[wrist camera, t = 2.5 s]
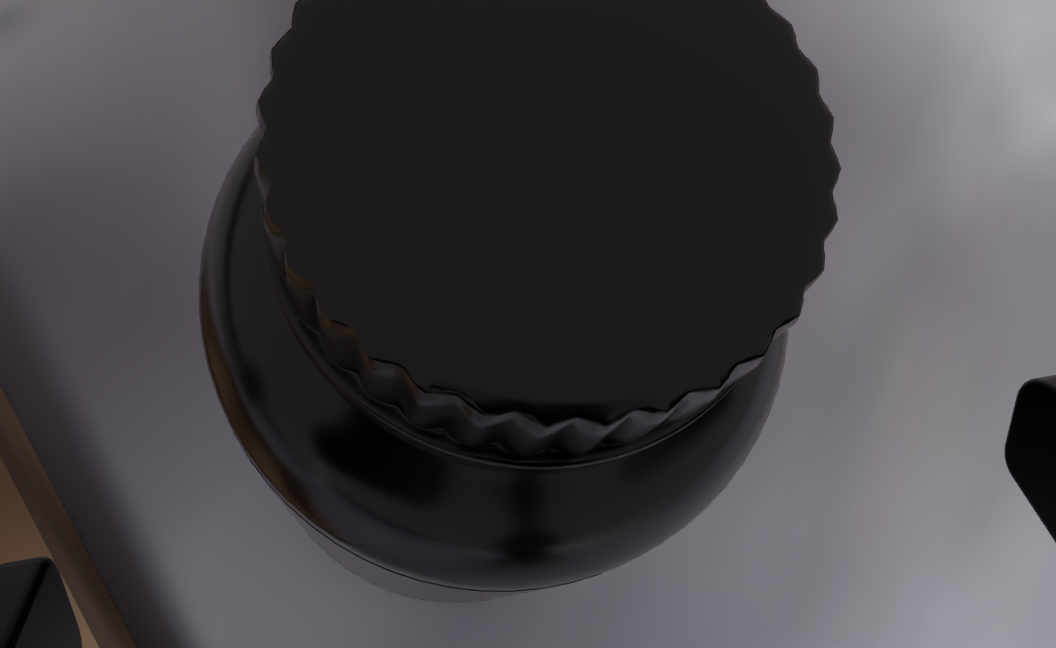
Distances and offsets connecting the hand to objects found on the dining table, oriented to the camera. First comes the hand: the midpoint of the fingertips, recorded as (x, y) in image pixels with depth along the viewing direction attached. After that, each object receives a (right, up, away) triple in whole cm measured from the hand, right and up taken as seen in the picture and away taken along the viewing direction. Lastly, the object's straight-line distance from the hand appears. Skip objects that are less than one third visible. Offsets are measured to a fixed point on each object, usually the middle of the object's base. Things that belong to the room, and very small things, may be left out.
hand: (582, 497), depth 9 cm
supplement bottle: (-2, 0, +10) cm, 11 cm away
